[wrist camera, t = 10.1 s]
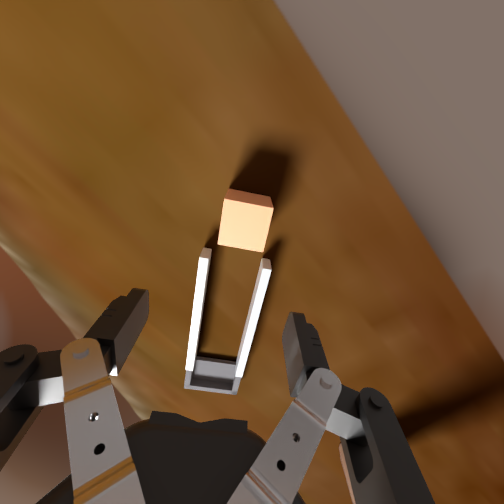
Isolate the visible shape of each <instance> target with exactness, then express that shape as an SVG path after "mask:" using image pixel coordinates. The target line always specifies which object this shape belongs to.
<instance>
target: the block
mask: <svg viewBox="0 0 504 504" xmlns="http://www.w3.org/2000/svg"><path fill="white" fill-rule="evenodd" d="M273 209H274V208H273V204H272V201H271V198H270V197H269V196H264V195H259V194H254V193H249V192H244V191H239V190H234V189H229V188H228V191H227V193H226V196H225V198H224V204H223V211H222V217H221V224H220V231H219V238H218V244H219V245H225V246H231V247H236V248H242V249H248V250H253V251H259V252H263V250H264V246H265V242H266V238H267V234H268V230H269V225H270V221H271V217H272V213H273Z"/></svg>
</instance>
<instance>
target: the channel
mask: <svg viewBox="0 0 504 504" xmlns="http://www.w3.org/2000/svg"><path fill="white" fill-rule="evenodd" d="M211 252H212V249H209V248H204V247H203V250H202V252H201V255H200V257H199V265H198V273H197V281H196V289H195V297H194V305H193V314H192V322H191V330H190V338H189V346H188V354H187V362H186V370H190V371H193V368H194V364H195V360H196V355H197V348H198V342H199V335H200V328H201V321H202V314H203V307H204V300H205V294H206V287H207V280H208V273H209V266H210V259H211ZM271 270H272V269H271V262H270V259H265V258H262V260H261V264H260V268H259V272H258V276H257V280H256V284H255V288H254V292H253V296H252V300H251V304H250V308H249V312H248V316H247V320H246V324H245V328H244V332H243V336H242V340H241V344H240V348H239V352H238V356H237V360H236V371H235V377H242V376H243V372H244V369H245V365H246V361H247V358H248V354H249V350H250V347H251V343H252V340H253V336H254V332H255V329H256V325H257V321H258V318H259V314H260V310H261V307H262V303H263V300H264V296H265V292H266V289H267V285H268V281H269V278H270V274H271Z"/></svg>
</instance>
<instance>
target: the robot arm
mask: <svg viewBox="0 0 504 504" xmlns="http://www.w3.org/2000/svg"><path fill="white" fill-rule="evenodd" d="M148 313H149V292H148V290H145V289H138V288H133V289H132V290H131V291H130V293H129V294H128V295H127V297H126V296H120V297H118V298H117V299H115V300H113V301H112V302H111V303H110V305H109V306H108V307H107V308H106V310H105V311H104V312H103V313H102V315H101V316H100V317H99V318H98V320H97V321H96V322H95V323H94V325H93V326H92V327H91V328H90V330H89V331H88V332H87V333H86V335H85V336H84V337H83V338H82V339H78V340H75V341H73V342H71V343H69V344H68V345H67V346H66V347H65V348H64V349H62V350H57V351H49V352H41V353H38V352H37V349H36V348H35V347H34V346H32V345H17V346H13V347H11V348H8V349H6V350H4V351H2V352H0V471H1V469H2V468H3V466H4V465H5V463H6V462H7V461H8V459H9V458H10V456H11V454H12V453H13V452H14V450H15V449H16V447H17V446H18V444H19V443H20V441H21V440H22V438H23V437H24V435H25V434H26V432H27V431H28V429H29V428H30V426H31V425H32V423H33V422H34V420H35V419H36V417H37V416H38V414H39V413H40V412H41V410H42V409H43V407H44V406H45V405H47V404H53V403H58V402H62V401H64V410H65V419H66V429H67V438H68V447H69V456H70V466H71V474H70V475H69V476H68V477H66V478H65V479H64V480H63V481H62V482H61V483H59V484H58V485H57V486H56V487H55V488H54V489H52V490H51V491H50V492H49V493H48V494H46V495H45V496H44V497H43V498H42V499H40V500H39V501H38V502H37V503H36V504H305V502H304V501H303V499H302V497H301V496H300V494H299V493H298V489H299V487H300V485H301V482H302V480H303V478H304V476H305V473H306V471H307V469H308V467H309V464H310V462H311V460H312V458H313V455H314V453H315V451H316V449H317V446H318V444H319V442H320V439H321V437H322V435H323V433H324V430H325V429H326V430H328V431H330V432H332V433H334V434H336V435H338V436H340V440H341V443H340V446H339V450H340V454H341V455H340V458H341V462H342V466H343V469H344V473H345V476H346V480H347V484H348V487H349V491H350V495H351V498H352V502H353V504H435V502H434V500H433V498H432V496H431V493H430V491H429V489H428V487H427V484H426V482H425V480H424V478H423V476H422V473H421V471H420V469H419V467H418V464H417V462H416V460H415V458H414V456H413V453H412V451H411V449H410V447H409V444H408V442H407V440H406V438H405V436H404V433H403V431H402V429H401V427H400V424H399V422H398V420H397V418H396V416H395V413H394V411H393V409H392V407H391V405H390V403H389V401H388V400H387V398H386V397H385V396H384V395H383V394H382V393H380V392H379V391H377V390H375V389H373V388H368V387H367V388H363V389H362V390H361V391H360V392H358V391H355V390H353V389H351V388H348V387H346V386H344V385H342V384H341V382H340V380H339V378H338V377H337V376H336V375H335V374H334V373H333V372H332V371H330V369H329V366H328V363H327V360H326V356H325V353H324V350H323V347H322V344H321V341H320V338H319V335H318V332H317V330H316V329H315V328H314V326H313V325H312V324H309V323H306V319H305V316H304V314H303V313H296V312H290V313H289V316H288V319H287V322H286V325H285V328H284V331H283V336H282V342H283V349H284V356H285V363H286V369H287V376H288V383H289V390H290V397H297V398H296V400H294V401H293V402H292V404H291V405H290V407H289V408H288V410H287V411H286V413H285V415H284V416H283V418H282V419H281V421H280V423H279V424H278V426H277V427H276V429H275V430H274V432H273V434H272V435H271V437H270V438H269V440H268V441H267V443H266V442H265V441H264V440H263V439H262V438H261V437H260V436H259V435H257V434H256V433H254V432H253V431H251V430H248V429H247V421H244V420H234V419H219V420H213V421H208V422H202V423H199V422H196V421H194V420H191V419H189V418H186V417H184V416H181V415H179V414H177V413H168V412H158V411H152V413H151V416H150V419H147V420H143V421H140V422H137V423H135V424H133V425H131V426H129V427H127V428H125V429H124V427H123V424H122V420H121V416H120V413H119V409H118V405H117V402H116V398H115V395H114V391H113V387H112V383H111V380H110V378H108V376H109V375H115V376H118V374H119V372H120V370H121V368H122V366H123V364H124V362H125V361H126V359H127V357H128V355H129V353H130V351H131V349H132V348H133V346H134V344H135V342H136V340H137V338H138V336H139V334H140V333H141V331H142V329H143V327H144V325H145V323H146V321H147V318H148Z"/></svg>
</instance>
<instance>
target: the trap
mask: <svg viewBox="0 0 504 504" xmlns="http://www.w3.org/2000/svg"><path fill="white" fill-rule="evenodd" d="M235 371H236V362H235V361H228V360H221V359H213V358H206V357H199V356H196V360H195V364H194V368H193V371H190V370H186V376H185V384H184V388H186V389H194V390H202V391H210V392H218V393H226V394H234V395H236V394H237V390H238V387H239V383H240V379H241V377H235Z"/></svg>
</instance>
